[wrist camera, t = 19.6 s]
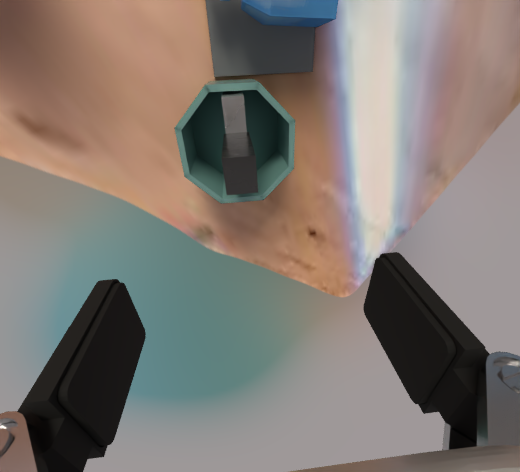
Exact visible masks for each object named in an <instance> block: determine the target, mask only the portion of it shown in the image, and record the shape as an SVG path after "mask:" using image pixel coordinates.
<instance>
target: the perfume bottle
mask: <svg viewBox="0 0 520 472" xmlns="http://www.w3.org/2000/svg"><path fill="white" fill-rule="evenodd" d="M220 1H230V0H220ZM337 5H338V0H241V9H242V10H243V11H244V12H246V13H247V14H248V15H250V16H251V17H253V18H254V19H255V20H257V21H258V22H260V23H261V24H262V25H277V26H301V27H319V26H321V25H323V24H325V23H327V22H330V21H332V20H334V19H336V13H337Z"/></svg>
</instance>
